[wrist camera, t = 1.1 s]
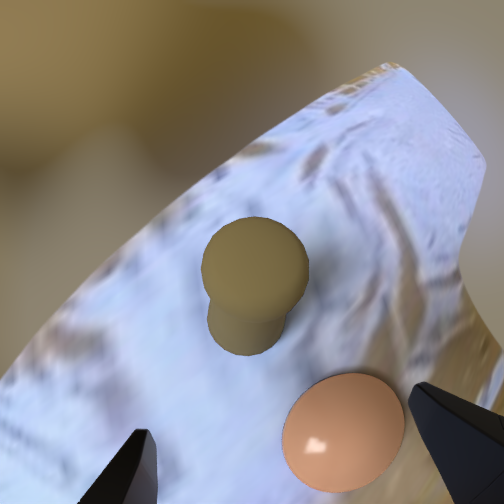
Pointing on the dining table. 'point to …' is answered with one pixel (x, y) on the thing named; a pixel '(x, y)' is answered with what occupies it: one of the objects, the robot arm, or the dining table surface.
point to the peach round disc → (343, 432)
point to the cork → (252, 283)
